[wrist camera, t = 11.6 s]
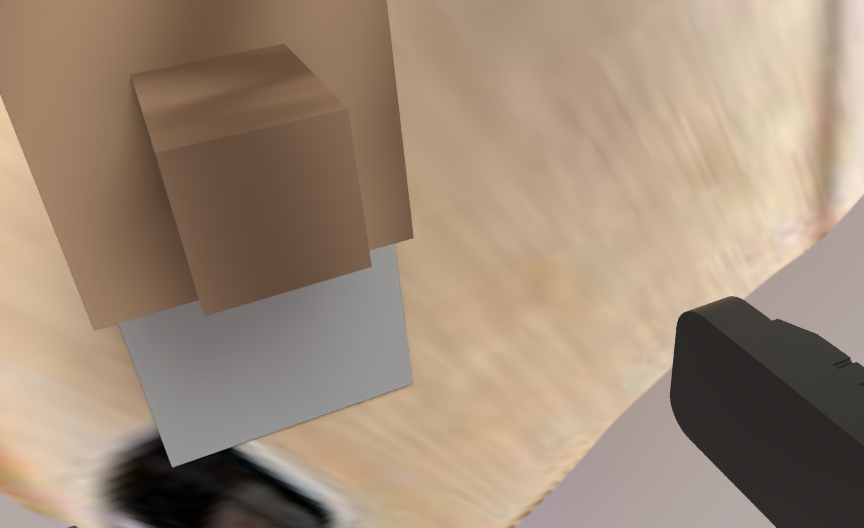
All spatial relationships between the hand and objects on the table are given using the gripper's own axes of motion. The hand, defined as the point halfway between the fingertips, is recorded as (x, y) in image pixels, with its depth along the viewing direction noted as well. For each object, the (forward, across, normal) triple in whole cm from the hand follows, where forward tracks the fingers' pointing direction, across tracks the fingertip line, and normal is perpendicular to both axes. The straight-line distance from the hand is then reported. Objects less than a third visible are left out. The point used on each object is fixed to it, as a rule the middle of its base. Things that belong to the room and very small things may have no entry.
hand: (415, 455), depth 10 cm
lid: (+13, 0, 0) cm, 13 cm away
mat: (+22, 0, +13) cm, 26 cm away
